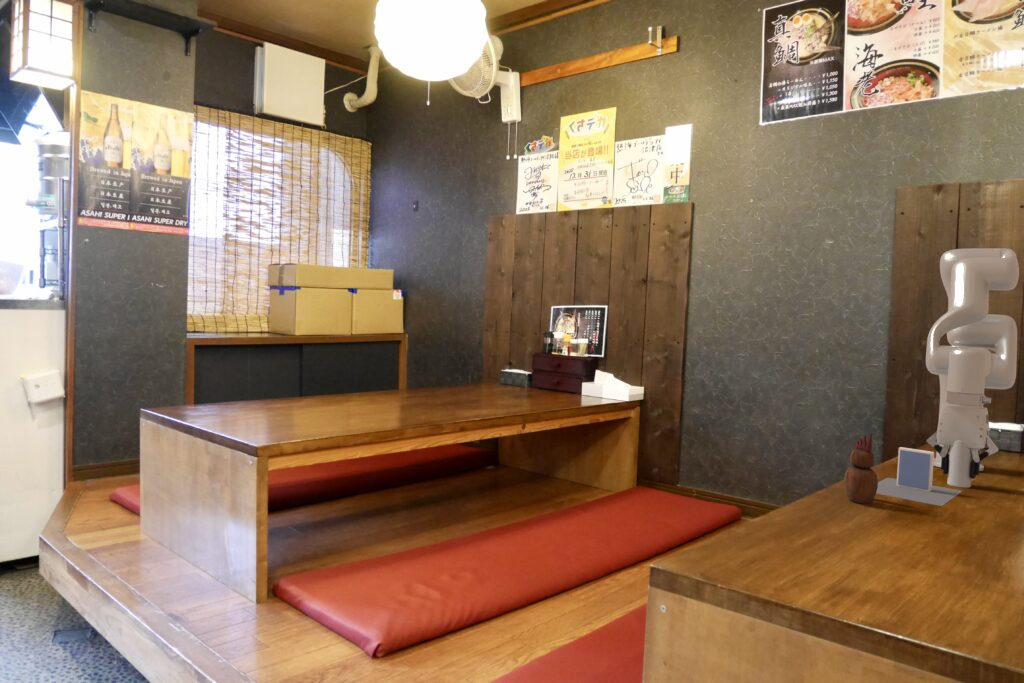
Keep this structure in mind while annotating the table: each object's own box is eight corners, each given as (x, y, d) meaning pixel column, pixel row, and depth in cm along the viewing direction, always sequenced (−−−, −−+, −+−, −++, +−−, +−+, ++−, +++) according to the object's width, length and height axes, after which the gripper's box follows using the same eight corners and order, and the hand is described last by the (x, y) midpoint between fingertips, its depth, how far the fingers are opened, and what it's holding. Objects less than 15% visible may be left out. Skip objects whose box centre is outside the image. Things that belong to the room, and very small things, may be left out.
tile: (898, 484, 167) (900, 447, 167) (931, 490, 163) (934, 452, 162) (896, 485, 166) (898, 447, 166) (929, 491, 161) (932, 452, 161)
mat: (887, 479, 175) (887, 477, 175) (962, 492, 164) (962, 490, 164) (861, 492, 160) (861, 490, 160) (941, 507, 149) (941, 506, 149)
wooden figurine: (881, 506, 149) (885, 435, 148) (853, 505, 149) (857, 434, 148) (865, 497, 155) (869, 430, 155) (839, 496, 155) (843, 429, 155)
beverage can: (974, 490, 167) (977, 439, 166) (951, 488, 168) (955, 438, 167) (965, 485, 171) (968, 436, 171) (943, 483, 172) (946, 434, 172)
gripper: (1010, 403, 165) (1004, 480, 166) (928, 395, 177) (923, 467, 178) (1004, 405, 160) (999, 485, 161) (920, 397, 172) (915, 471, 172)
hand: (959, 474), depth 169 cm, fingers closed on beverage can, 4 cm apart
